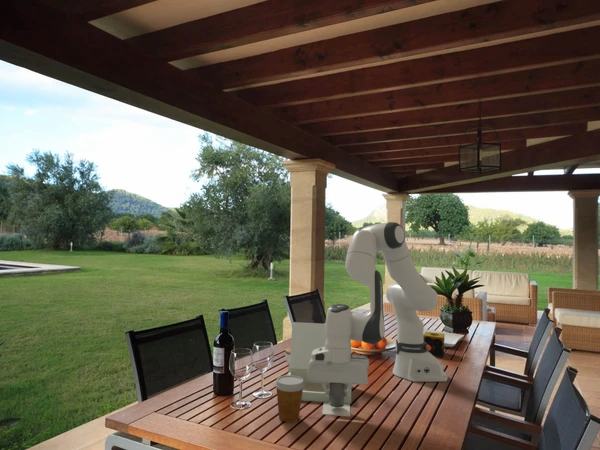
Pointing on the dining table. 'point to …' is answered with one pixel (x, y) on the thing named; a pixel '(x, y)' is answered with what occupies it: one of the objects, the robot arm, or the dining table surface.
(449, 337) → the square plate
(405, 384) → the dining table surface
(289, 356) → the lidded jar
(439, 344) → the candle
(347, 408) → the stone tile
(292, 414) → the disposable coffee cup
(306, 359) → the pale grey-green hollow box
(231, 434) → the dining table surface
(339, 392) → the nursery pot
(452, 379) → the dining table surface
